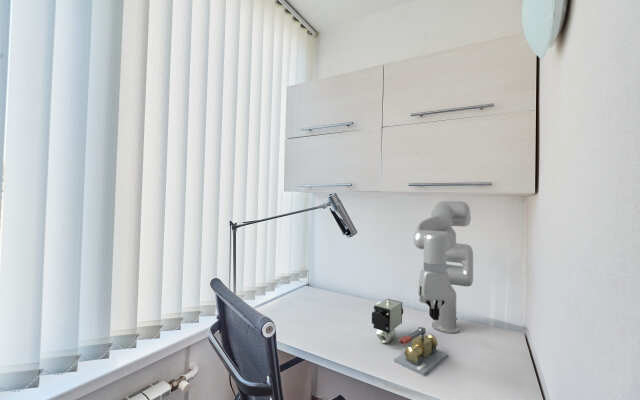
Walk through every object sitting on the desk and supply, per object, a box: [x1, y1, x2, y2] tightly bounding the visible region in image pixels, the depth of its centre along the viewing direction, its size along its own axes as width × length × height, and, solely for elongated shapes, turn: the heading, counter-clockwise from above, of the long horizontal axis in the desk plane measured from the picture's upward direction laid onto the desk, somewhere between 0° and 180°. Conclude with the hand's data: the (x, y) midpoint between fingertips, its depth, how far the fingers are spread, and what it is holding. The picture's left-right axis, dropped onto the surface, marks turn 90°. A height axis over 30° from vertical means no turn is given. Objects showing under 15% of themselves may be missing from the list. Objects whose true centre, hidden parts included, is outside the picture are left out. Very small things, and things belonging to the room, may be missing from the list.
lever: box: [398, 326, 427, 346], centre depth 104 cm, size 16×3×1 cm, turn 133°
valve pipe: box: [403, 334, 438, 366], centre depth 108 cm, size 17×5×9 cm, turn 133°
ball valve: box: [371, 298, 404, 344], centre depth 123 cm, size 18×8×18 cm, turn 141°
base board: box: [393, 349, 448, 377], centre depth 108 cm, size 20×12×1 cm, turn 133°
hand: (434, 318), depth 99 cm, fingers closed
